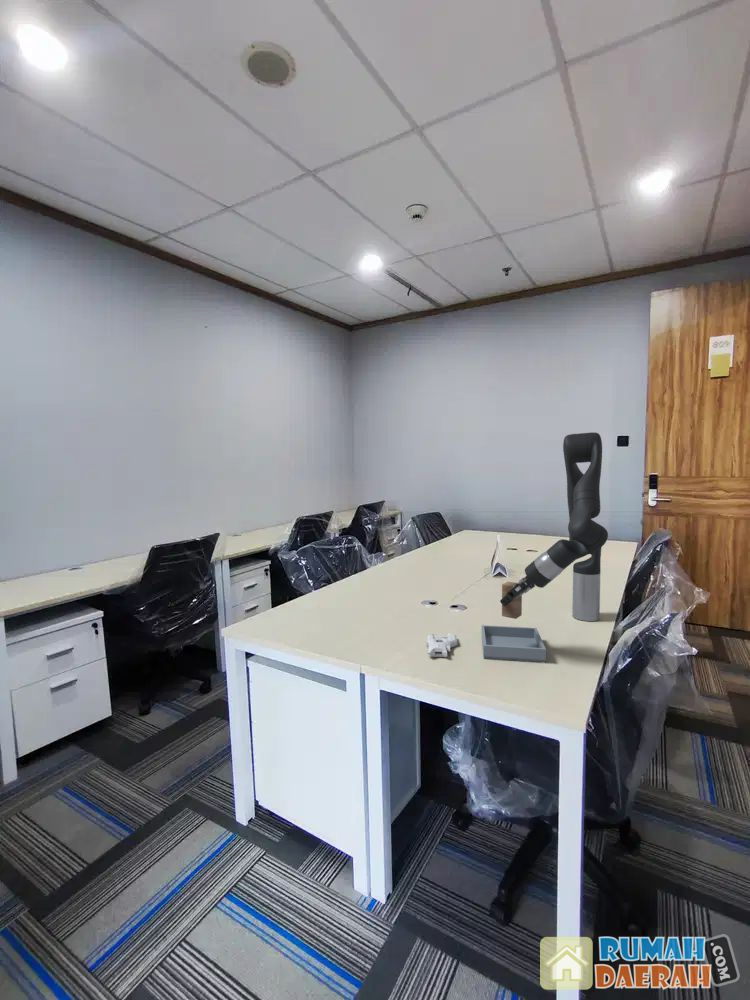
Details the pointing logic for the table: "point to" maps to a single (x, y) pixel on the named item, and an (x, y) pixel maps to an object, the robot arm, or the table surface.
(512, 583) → the handle block
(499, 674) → the table surface
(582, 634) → the table surface
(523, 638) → the box
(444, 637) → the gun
